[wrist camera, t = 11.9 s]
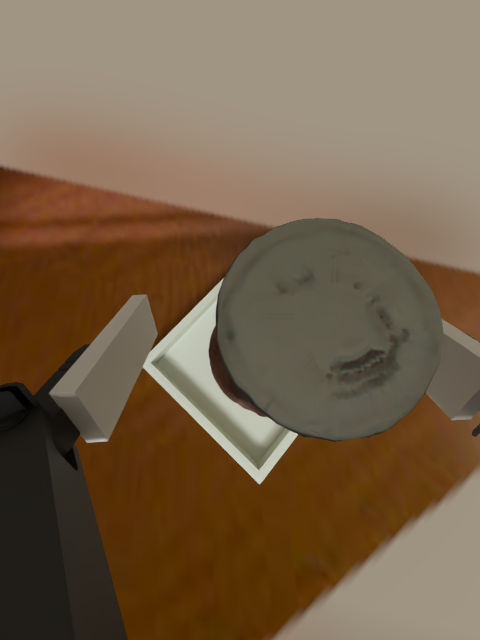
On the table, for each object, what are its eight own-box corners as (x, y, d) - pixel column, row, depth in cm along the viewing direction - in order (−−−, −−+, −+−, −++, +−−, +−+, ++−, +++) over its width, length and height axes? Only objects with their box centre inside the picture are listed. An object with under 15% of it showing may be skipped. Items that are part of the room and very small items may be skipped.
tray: (148, 363, 24) (138, 363, 21) (244, 266, 26) (245, 256, 24) (257, 471, 22) (259, 484, 19) (348, 353, 24) (361, 351, 22)
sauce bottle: (277, 393, 22) (565, 621, 3) (218, 386, 22) (97, 562, 3) (282, 332, 24) (505, 193, 4) (226, 325, 24) (180, 156, 4)
